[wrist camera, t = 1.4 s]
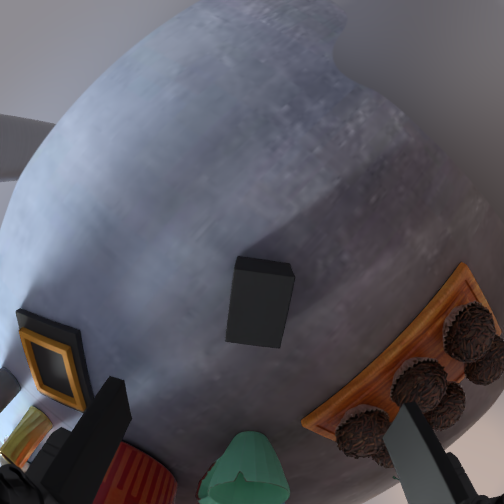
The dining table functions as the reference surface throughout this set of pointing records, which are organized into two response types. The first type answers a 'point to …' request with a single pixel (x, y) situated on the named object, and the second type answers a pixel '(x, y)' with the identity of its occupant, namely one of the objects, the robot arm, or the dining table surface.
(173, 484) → the planter
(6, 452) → the vase
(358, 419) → the chocolate muffin tray
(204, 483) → the mug
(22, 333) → the base
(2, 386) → the bottle
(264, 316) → the black rectangular block
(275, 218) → the dining table surface
